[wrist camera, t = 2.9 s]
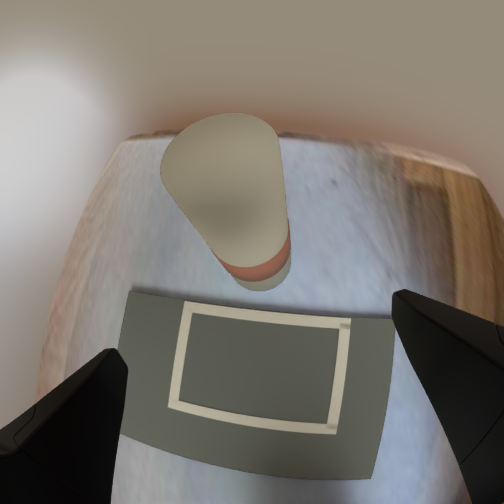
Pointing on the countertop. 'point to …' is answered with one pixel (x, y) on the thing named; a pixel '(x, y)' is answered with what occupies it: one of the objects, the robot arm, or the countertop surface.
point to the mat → (257, 386)
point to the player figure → (233, 194)
